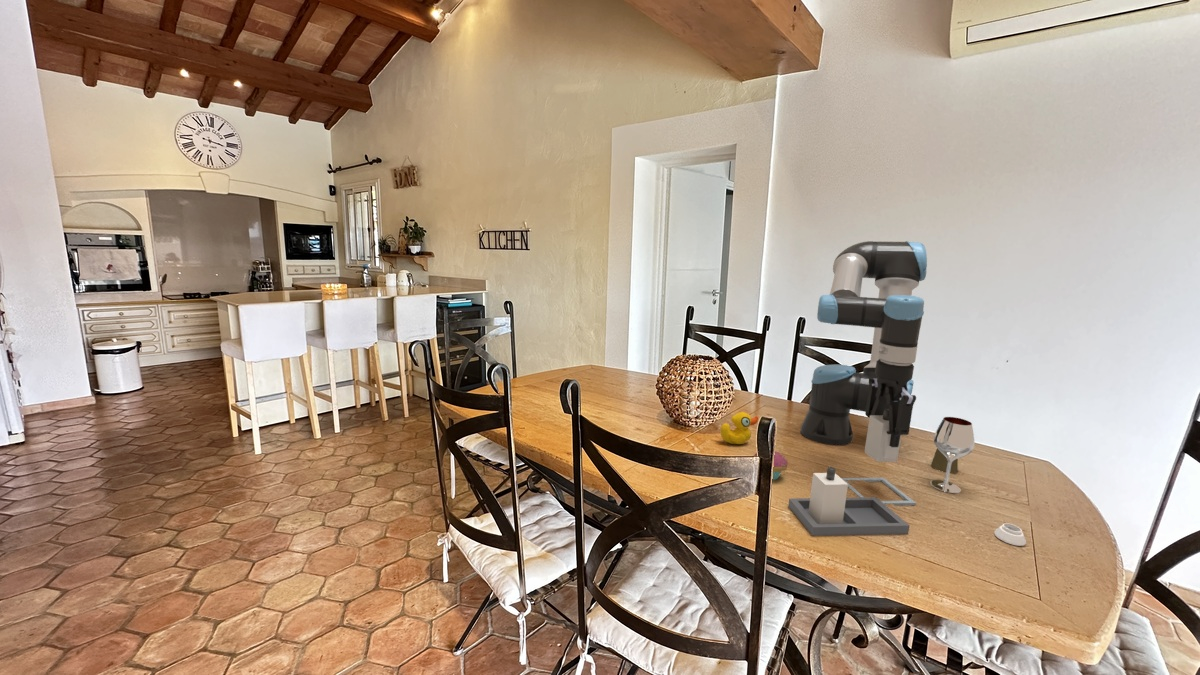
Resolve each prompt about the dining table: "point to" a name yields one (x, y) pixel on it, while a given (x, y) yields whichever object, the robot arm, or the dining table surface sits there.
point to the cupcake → (778, 464)
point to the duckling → (738, 428)
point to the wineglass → (953, 447)
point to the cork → (943, 463)
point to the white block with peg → (878, 437)
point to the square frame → (905, 497)
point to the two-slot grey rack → (853, 518)
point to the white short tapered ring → (1010, 534)
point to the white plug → (827, 497)
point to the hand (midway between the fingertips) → (881, 451)
